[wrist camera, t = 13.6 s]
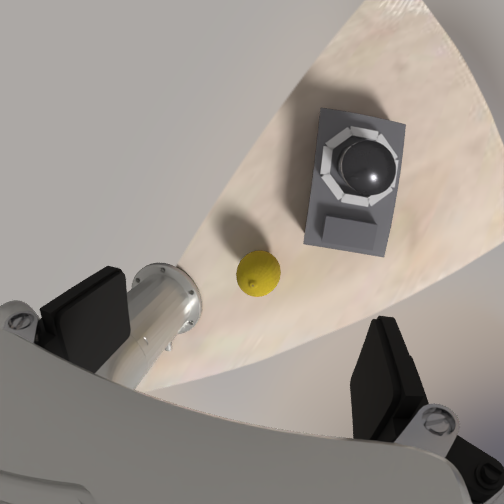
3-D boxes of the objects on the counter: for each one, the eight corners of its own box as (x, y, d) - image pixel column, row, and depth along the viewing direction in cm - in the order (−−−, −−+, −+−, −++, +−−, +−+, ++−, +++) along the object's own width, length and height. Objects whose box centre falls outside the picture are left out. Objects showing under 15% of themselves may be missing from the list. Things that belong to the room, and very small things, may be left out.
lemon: (281, 282, 42) (274, 309, 35) (243, 278, 43) (229, 303, 36) (284, 245, 41) (278, 266, 33) (244, 241, 42) (229, 260, 34)
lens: (388, 163, 30) (406, 165, 23) (361, 196, 32) (373, 206, 25) (354, 134, 30) (364, 128, 23) (327, 168, 32) (331, 171, 25)
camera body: (376, 245, 38) (386, 261, 32) (304, 233, 40) (302, 247, 34) (394, 128, 33) (409, 123, 27) (319, 113, 34) (321, 105, 28)
